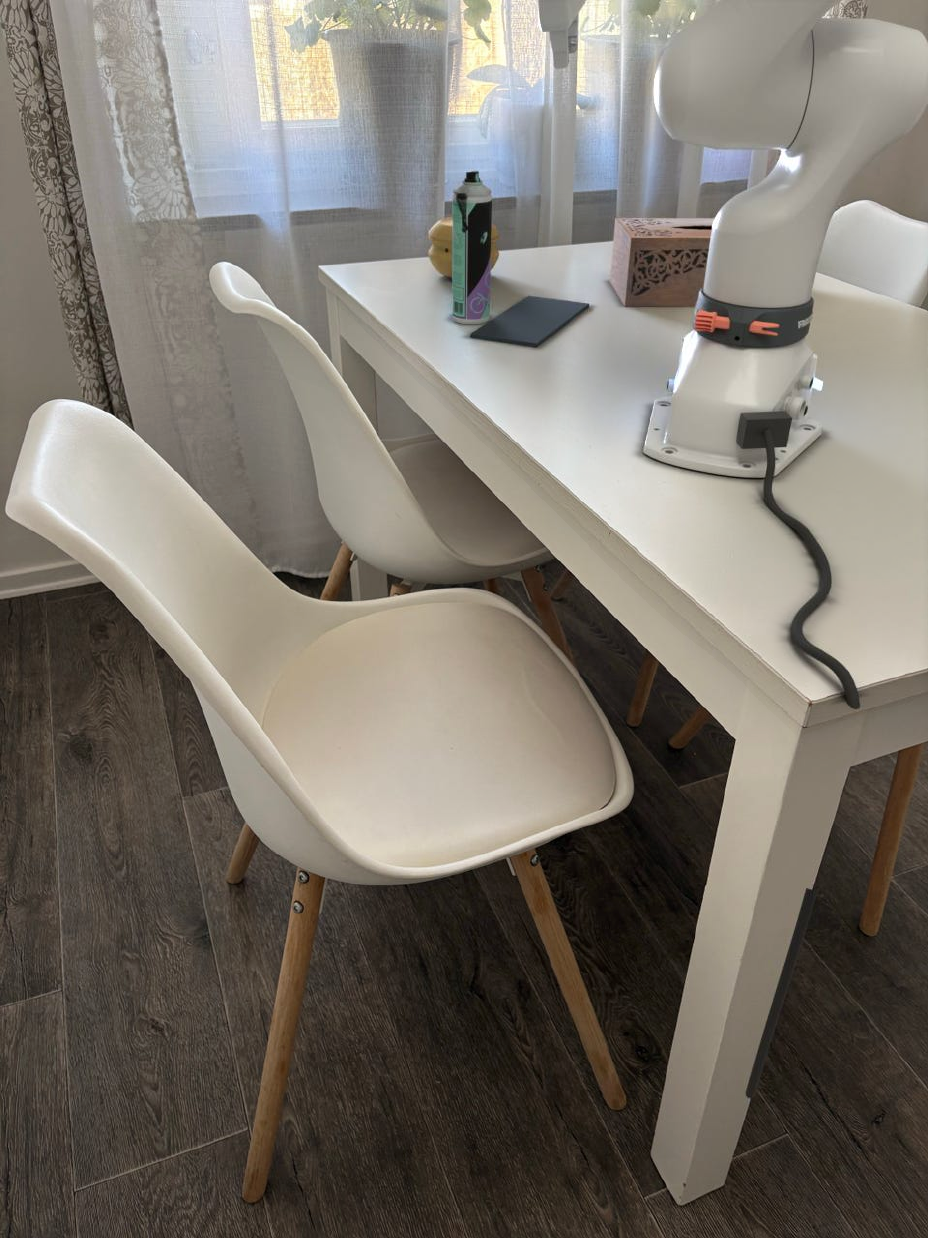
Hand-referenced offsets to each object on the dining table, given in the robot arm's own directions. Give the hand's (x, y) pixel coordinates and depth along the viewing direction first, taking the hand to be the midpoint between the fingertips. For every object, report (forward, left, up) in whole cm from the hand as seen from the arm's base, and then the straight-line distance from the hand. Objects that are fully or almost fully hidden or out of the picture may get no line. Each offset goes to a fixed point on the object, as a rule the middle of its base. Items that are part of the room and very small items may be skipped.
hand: (566, 59), depth 124 cm
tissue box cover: (+24, -16, -33) cm, 44 cm away
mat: (-2, +2, -33) cm, 33 cm away
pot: (+17, +22, -33) cm, 44 cm away
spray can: (-5, +11, -33) cm, 35 cm away
